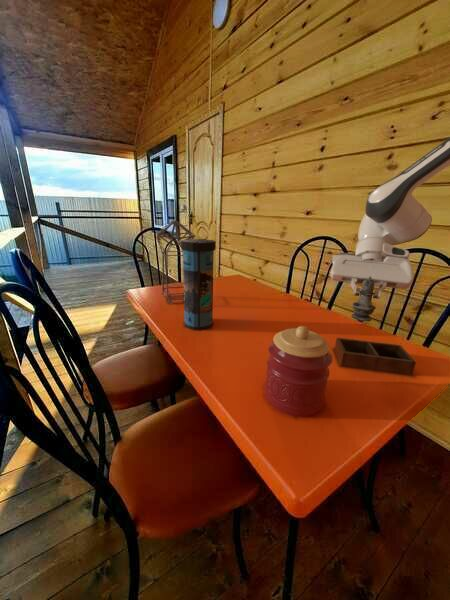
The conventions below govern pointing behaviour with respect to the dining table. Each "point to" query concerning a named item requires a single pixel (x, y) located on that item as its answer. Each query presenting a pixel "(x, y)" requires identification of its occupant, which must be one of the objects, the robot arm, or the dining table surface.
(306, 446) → the dining table surface
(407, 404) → the dining table surface
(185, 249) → the advertising column
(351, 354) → the holder
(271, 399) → the kitchen canister
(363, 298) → the grey stone statuette
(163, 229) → the geometric lantern
